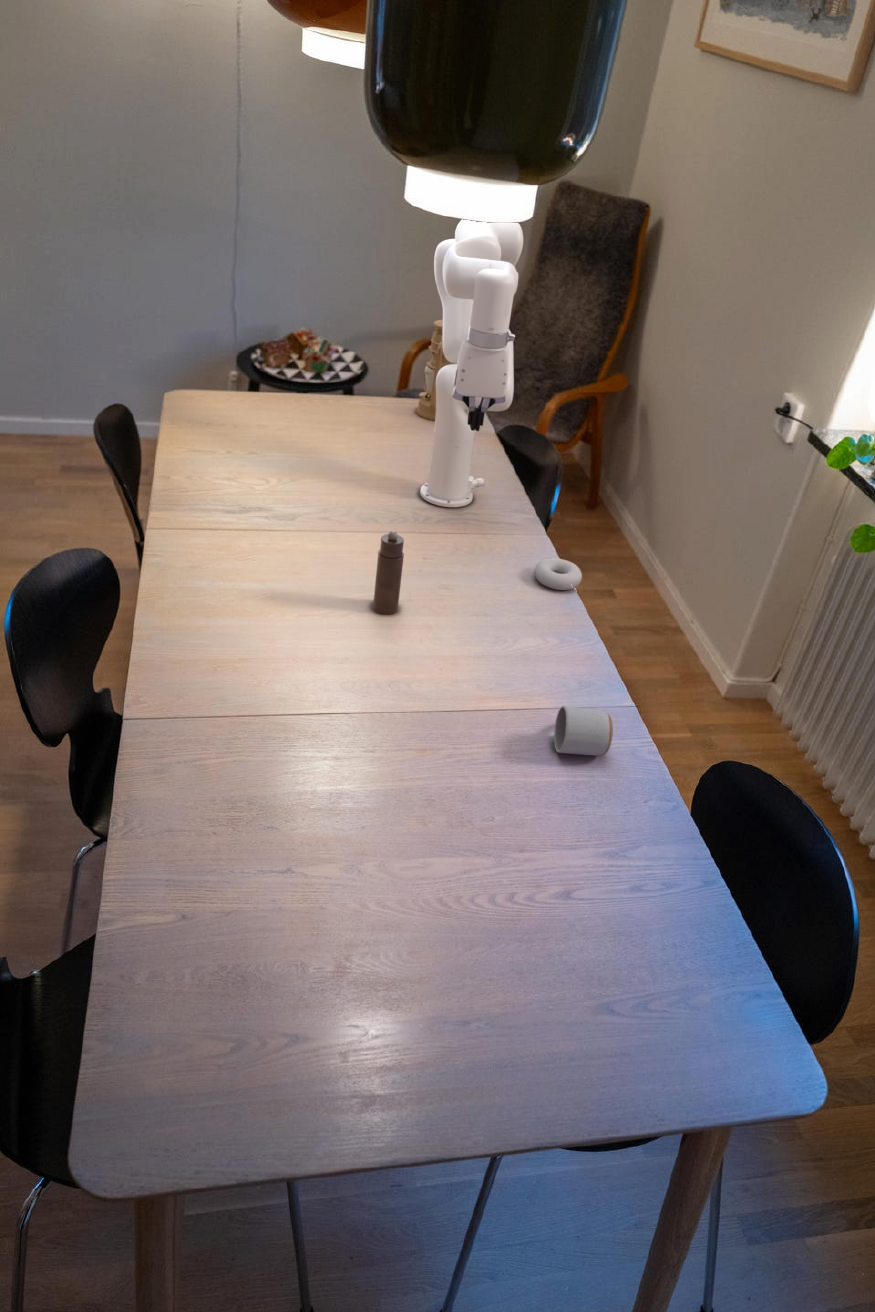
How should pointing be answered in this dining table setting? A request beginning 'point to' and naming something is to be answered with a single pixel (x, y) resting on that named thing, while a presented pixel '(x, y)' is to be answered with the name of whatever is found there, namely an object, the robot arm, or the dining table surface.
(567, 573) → the donut
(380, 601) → the pepper mill
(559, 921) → the dining table surface
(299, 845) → the dining table surface
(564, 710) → the ceramic mug
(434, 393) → the lantern
